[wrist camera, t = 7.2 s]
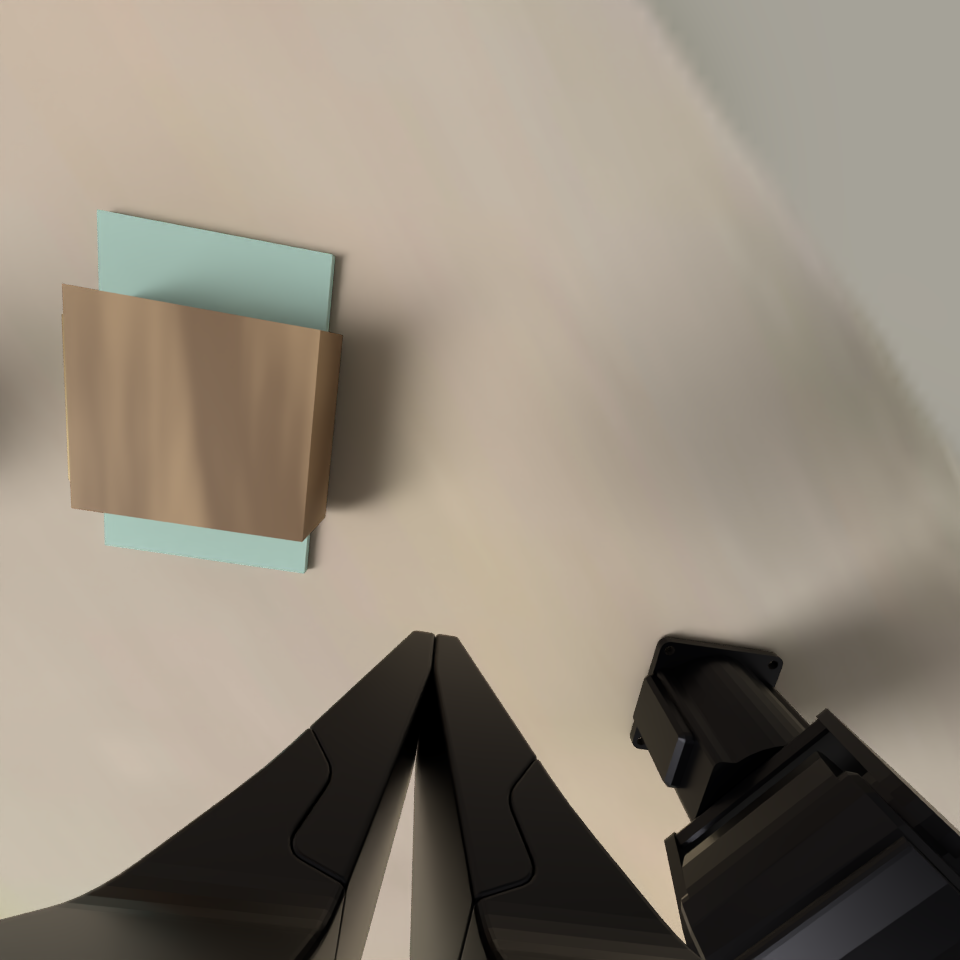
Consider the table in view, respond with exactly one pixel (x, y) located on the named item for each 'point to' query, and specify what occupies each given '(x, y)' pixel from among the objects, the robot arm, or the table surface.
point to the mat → (223, 288)
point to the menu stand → (197, 414)
